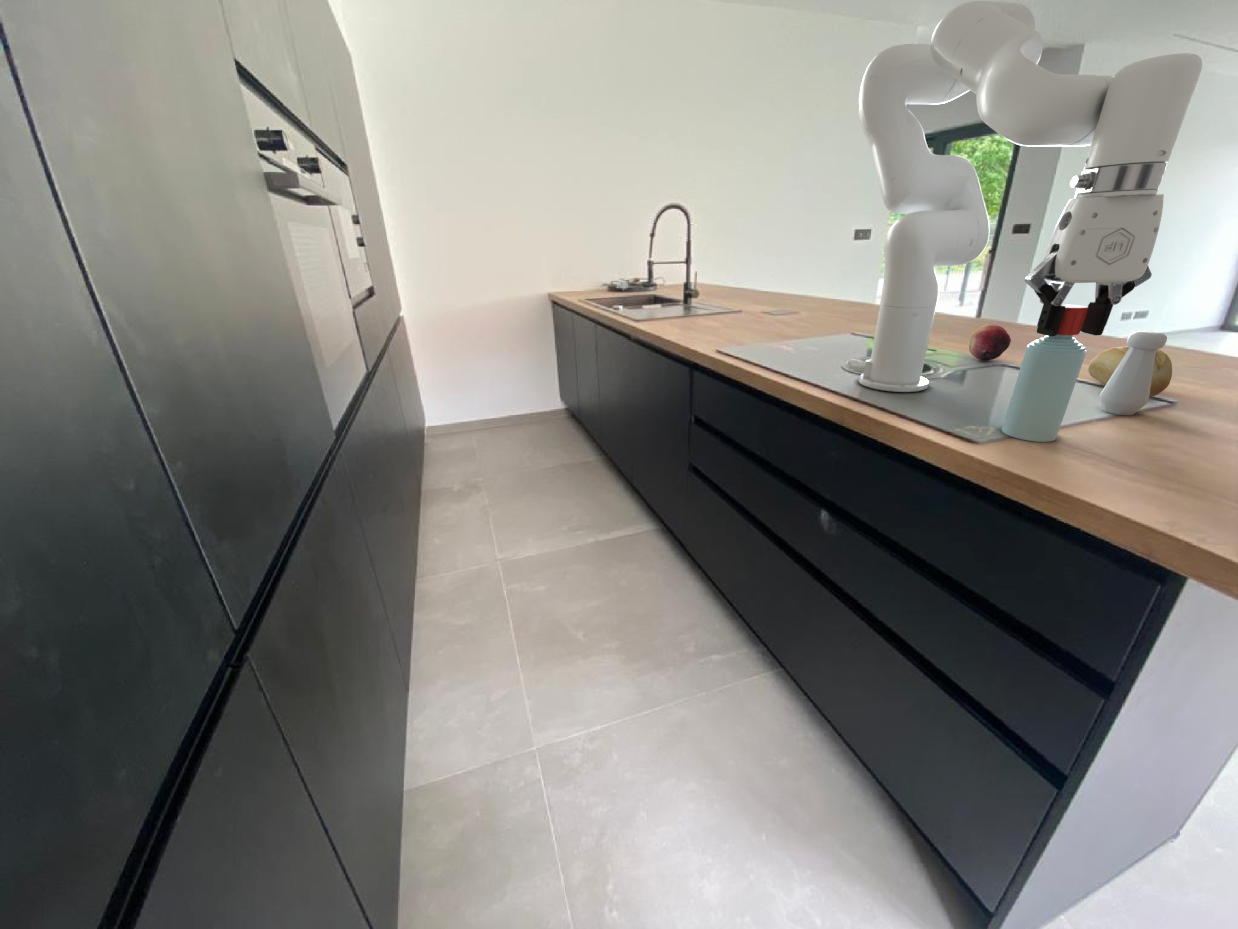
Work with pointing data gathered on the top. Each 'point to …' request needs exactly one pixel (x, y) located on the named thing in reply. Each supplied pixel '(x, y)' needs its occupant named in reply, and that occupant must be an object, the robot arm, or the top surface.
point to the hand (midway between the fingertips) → (1068, 332)
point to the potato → (1111, 358)
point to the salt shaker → (1132, 375)
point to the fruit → (989, 342)
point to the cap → (1072, 319)
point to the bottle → (1044, 388)
